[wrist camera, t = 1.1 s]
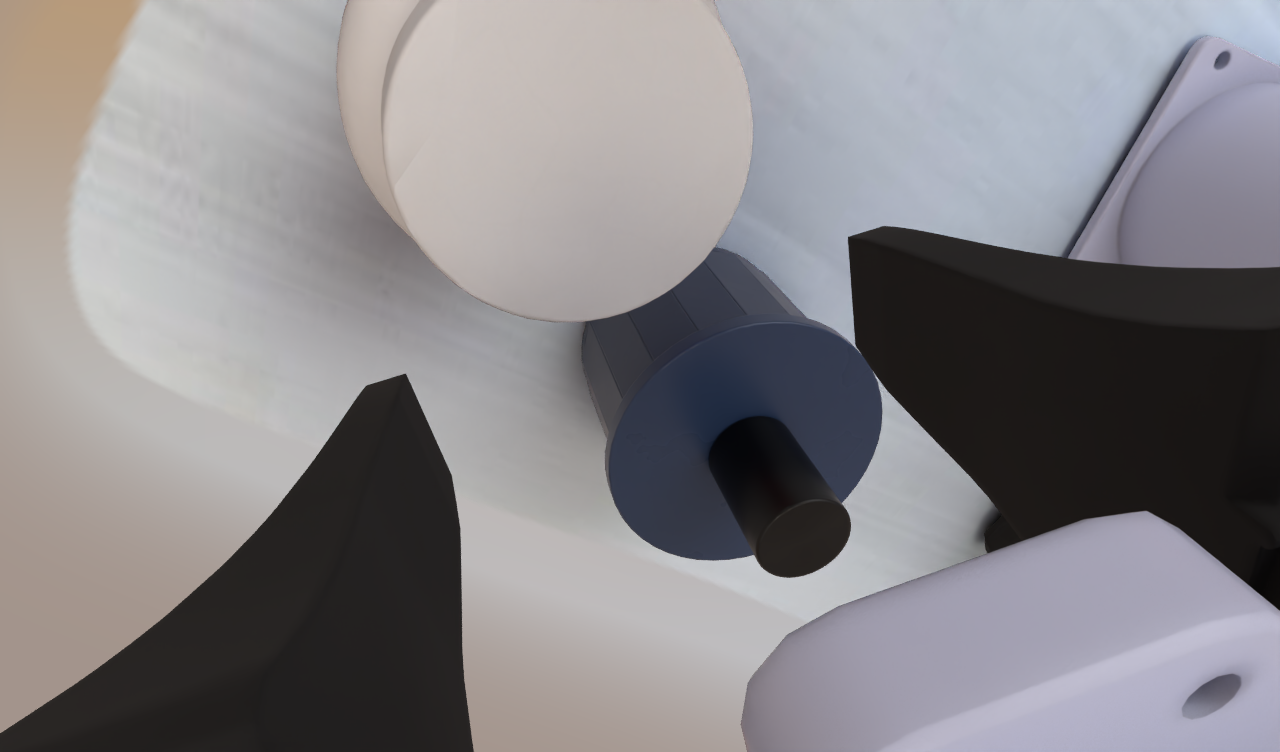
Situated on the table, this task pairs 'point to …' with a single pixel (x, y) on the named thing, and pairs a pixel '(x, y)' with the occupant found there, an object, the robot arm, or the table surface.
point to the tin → (672, 324)
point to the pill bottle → (549, 142)
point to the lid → (747, 443)
